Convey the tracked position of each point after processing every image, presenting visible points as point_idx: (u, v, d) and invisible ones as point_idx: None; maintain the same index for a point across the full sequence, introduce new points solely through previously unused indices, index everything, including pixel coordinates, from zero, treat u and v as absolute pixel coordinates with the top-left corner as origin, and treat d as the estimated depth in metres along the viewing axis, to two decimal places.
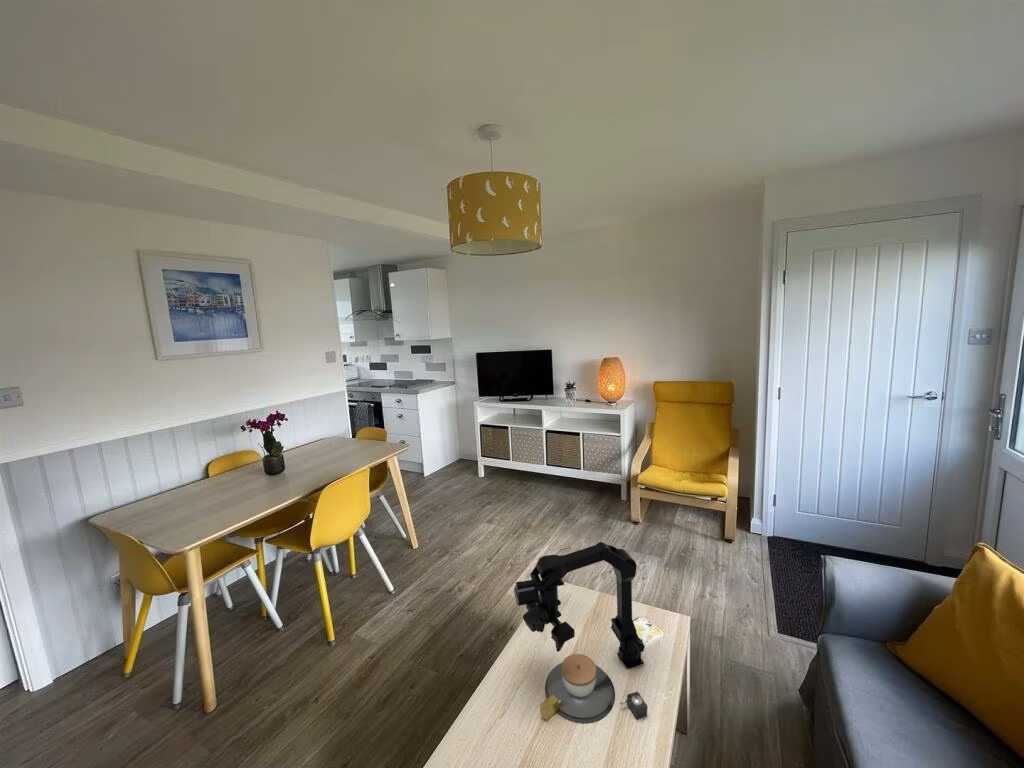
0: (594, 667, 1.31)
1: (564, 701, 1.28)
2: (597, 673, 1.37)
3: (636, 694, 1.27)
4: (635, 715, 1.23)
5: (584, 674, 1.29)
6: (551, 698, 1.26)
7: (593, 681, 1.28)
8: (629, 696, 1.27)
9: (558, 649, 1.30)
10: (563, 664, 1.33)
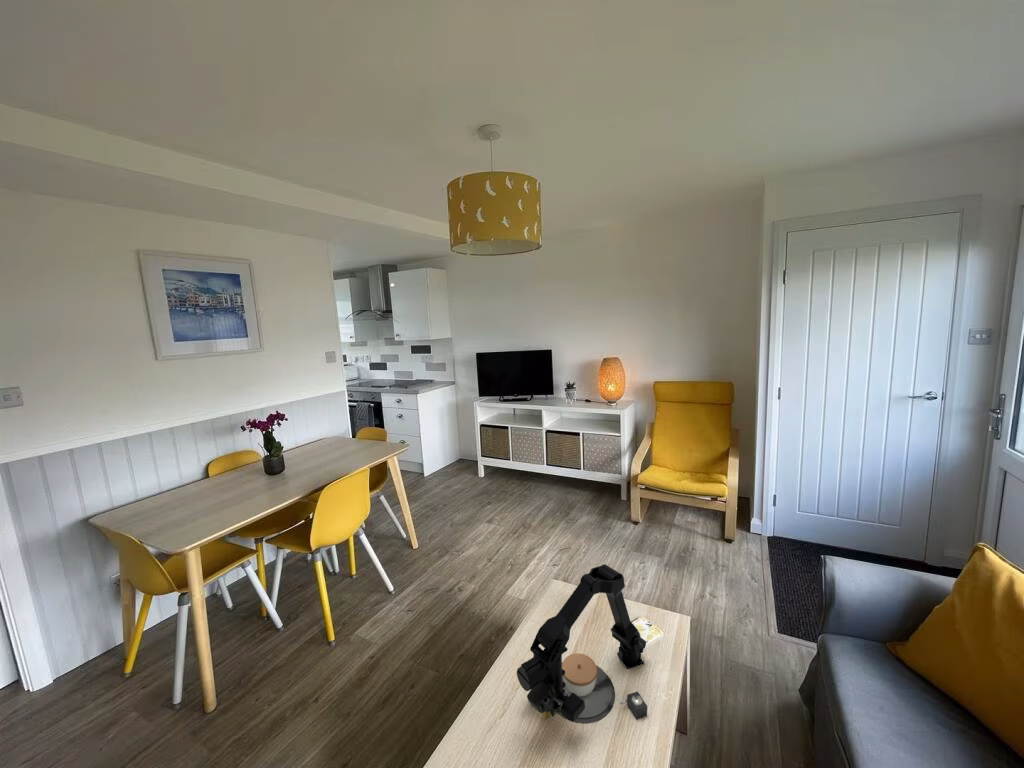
0: (595, 667, 1.31)
1: None
2: (597, 673, 1.37)
3: (636, 694, 1.27)
4: (635, 715, 1.23)
5: (584, 674, 1.29)
6: None
7: (593, 681, 1.28)
8: (629, 696, 1.27)
9: (554, 714, 1.22)
10: (564, 663, 1.33)
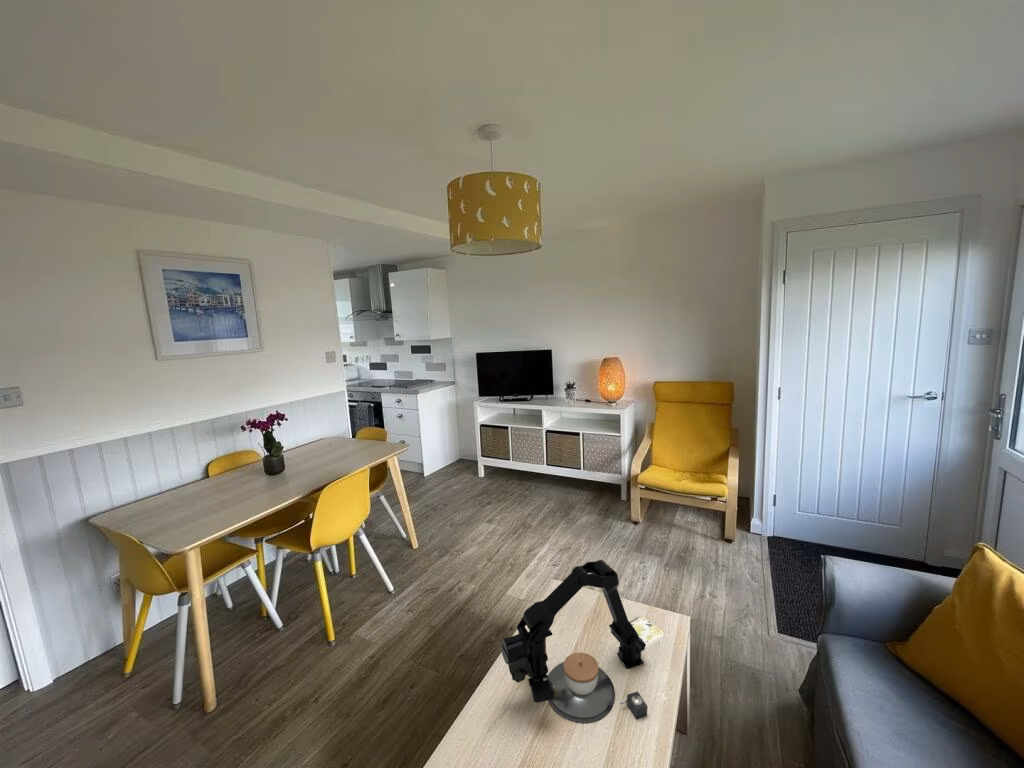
0: (594, 673, 1.29)
1: (556, 689, 1.32)
2: (604, 686, 1.33)
3: (636, 694, 1.27)
4: (635, 715, 1.23)
5: (580, 672, 1.29)
6: None
7: (586, 684, 1.27)
8: (629, 696, 1.27)
9: None
10: (570, 655, 1.36)
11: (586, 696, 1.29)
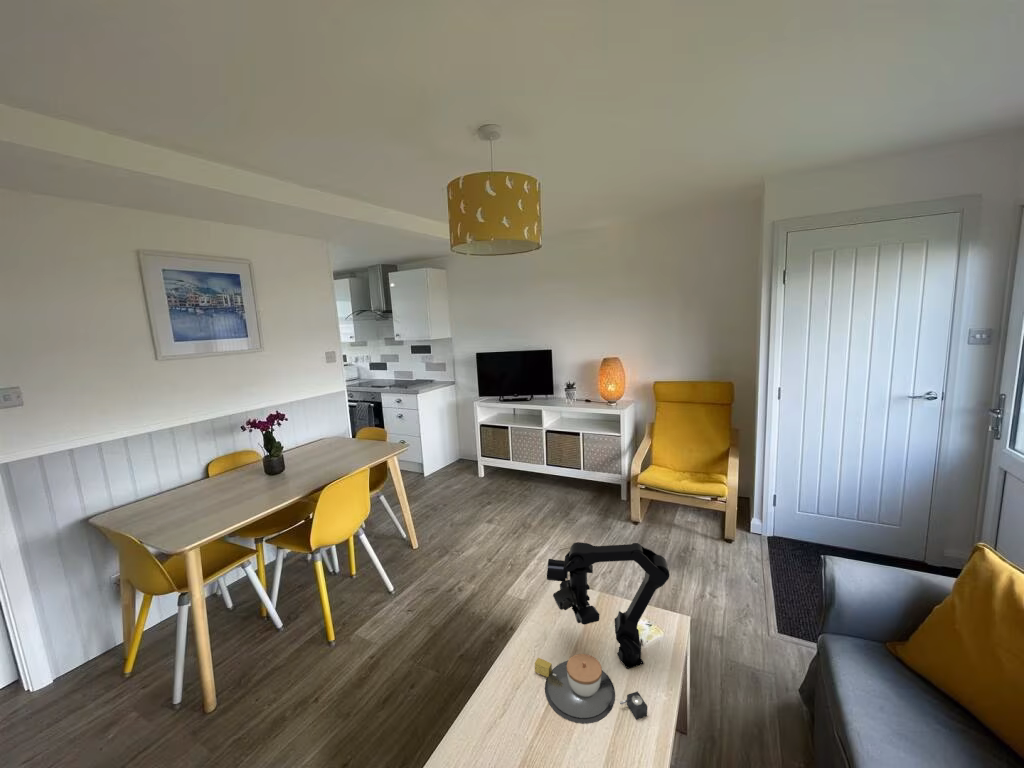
0: (591, 679, 1.27)
1: (557, 678, 1.36)
2: (603, 697, 1.29)
3: (636, 694, 1.27)
4: (635, 715, 1.23)
5: (579, 672, 1.30)
6: (547, 663, 1.38)
7: (580, 685, 1.27)
8: (629, 696, 1.27)
9: (578, 621, 1.44)
10: (580, 654, 1.36)
11: (579, 697, 1.29)
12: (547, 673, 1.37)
